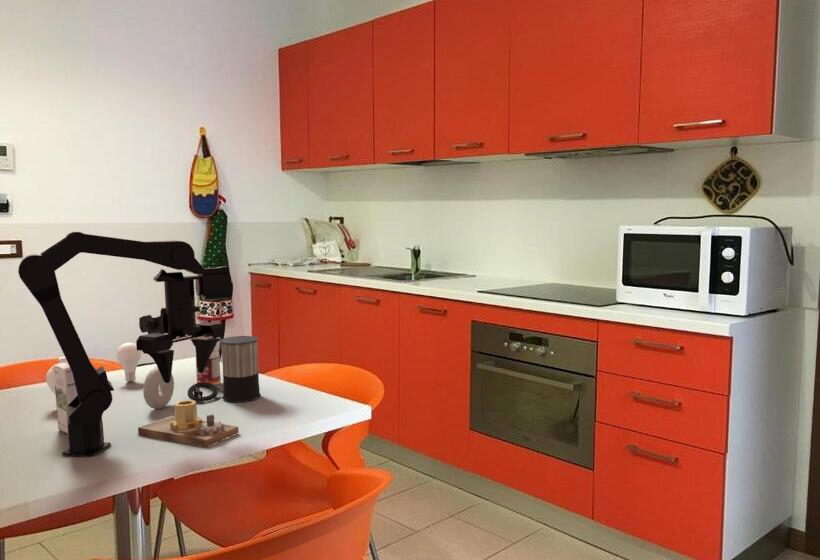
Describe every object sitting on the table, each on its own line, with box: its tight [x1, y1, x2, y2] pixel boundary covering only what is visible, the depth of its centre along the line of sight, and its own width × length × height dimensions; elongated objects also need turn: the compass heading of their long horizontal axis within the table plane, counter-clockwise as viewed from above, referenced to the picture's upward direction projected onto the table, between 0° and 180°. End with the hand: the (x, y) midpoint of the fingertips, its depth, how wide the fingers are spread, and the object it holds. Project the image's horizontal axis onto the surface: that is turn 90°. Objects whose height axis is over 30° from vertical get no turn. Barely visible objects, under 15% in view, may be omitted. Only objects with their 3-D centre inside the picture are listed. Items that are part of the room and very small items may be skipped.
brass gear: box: [170, 399, 203, 431], centre depth 141 cm, size 6×6×5 cm
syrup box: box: [52, 362, 78, 435], centre depth 145 cm, size 6×6×14 cm
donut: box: [142, 366, 175, 410], centre depth 161 cm, size 10×4×10 cm, turn 168°
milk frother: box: [187, 335, 262, 403], centre depth 168 cm, size 14×16×15 cm
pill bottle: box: [195, 343, 222, 386], centre depth 183 cm, size 6×6×11 cm
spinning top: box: [45, 356, 67, 396], centre depth 164 cm, size 8×8×12 cm
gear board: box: [137, 414, 240, 448], centre depth 141 cm, size 19×9×6 cm, turn 63°
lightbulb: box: [115, 341, 142, 383], centre depth 187 cm, size 6×6×11 cm
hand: (184, 377), depth 140 cm, fingers open, 9 cm apart
